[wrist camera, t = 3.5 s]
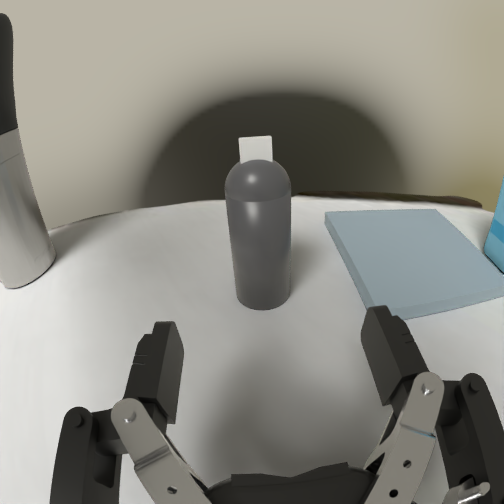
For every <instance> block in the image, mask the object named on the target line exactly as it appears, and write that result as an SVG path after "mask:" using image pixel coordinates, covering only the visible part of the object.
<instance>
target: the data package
mask: <svg viewBox="0 0 504 504" xmlns="http://www.w3.org/2000/svg"><path fill="white" fill-rule="evenodd" d="M484 252H485V254H486V255H487V256H488V257H489V258H490V259H491V260H492V261H493V262H494V263H495V264H496V265H497V266H498V267H499V268H500V270H501V271H502V272H503V273H504V177H503V182H502V186H501V191H500V195H499V199H498V203H497V206H496V210H495V214H494V217H493V221H492V224H491V227H490V230H489V233H488V236H487V239H486V242H485V246H484Z"/></svg>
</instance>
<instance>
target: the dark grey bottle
mask: <svg viewBox="0 0 504 504" xmlns="http://www.w3.org/2000/svg"><path fill="white" fill-rule="evenodd" d="M239 148H240V160H241V161H240V162H238V163H237V164H236V165H235V166H234V167H233V168H232V169H231V171H230V172H229V174H228V176H227V179H226V182H225V197H226V207H227V216H228V225H229V234H230V242H231V251H232V259H233V268H234V276H235V284H236V292H237V298H238V300H239V301H240V302H241V303H242V304H243V305H244V306H246V307H248V308H251V309H255V310H270V309H273V308H276V307H279V306H280V305H282V304H283V303H284V302H285V301H286V300H287V299H288V297H289V293H290V255H291V184H290V180H289V177H288V175H287V173H286V171H285V170H284V168H283V167H282V166H281V165H280V164H278V163H277V162H276V161H274V160H272V139H271V136H261V137H245V138H239Z"/></svg>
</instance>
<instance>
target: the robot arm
mask: <svg viewBox="0 0 504 504" xmlns="http://www.w3.org/2000/svg"><path fill="white" fill-rule="evenodd" d="M55 256H56V252H55V249H54V247H53V244H52V242H51V239H50V237H49V234H48V232H47V229H46V226H45V223H44V221H43V218H42V215H41V212H40V209H39V206H38V203H37V200H36V197H35V194H34V191H33V187H32V184H31V180H30V177H29V173H28V169H27V165H26V162H25V157H24V154H23V149H22V144H21V140H20V135H19V129H18V124H17V118H16V109H15V97H14V87H13V31H12V25H11V22H10V20H9V18H8V17H7V15H5V14H3V13H0V281H2V283H3V285H4V286H5V287H6V288H18V287H21V286H24V285H26V284H28V283H30V282H31V281H33V280H35V279H36V278H37V277H39V276H40V275H41V274H43V273H44V272H45V271H46V270H47V269H48V268H49V267H50V265H51V264H52V263H53V261H54V259H55ZM361 342H362V346H363V349H364V351H365V354H366V357H367V360H368V363H369V366H370V368H371V371H372V374H373V377H374V380H375V383H376V386H377V390H378V393H379V396H380V399H381V402H382V405H383V406H386V405H389V404H391V405H392V408H393V410H392V412H391V414H390V416H389V419H388V421H387V424H386V426H385V428H384V430H383V433H382V435H381V437H380V439H379V441H378V443H377V446H376V447H375V449H374V451H373V452H372V453H371V455H370V456H369V458H368V460H367V461H366V463H365V465H364V467H363V469H361V468H358V467H348V462H344V463H340V464H334V465H329V466H323V467H319V468H316V469H314V470H311V471H309V472H306V473H303V474H301V475H298V476H295V477H280V476H273V475H267V474H231V479H228V480H225V481H222V482H219V483H217V484H215V485H213V486H212V487H210V488H208V486H207V485H206V484H205V483H204V482H203V480H202V479H201V478H200V477H199V476H198V474H197V473H196V472H195V471H194V470H193V469H192V468H191V467H190V465H189V464H188V463H187V461H186V460H185V459H184V457H183V456H182V455H181V453H180V452H179V451H178V449H177V448H176V446H175V445H174V444H173V442H172V441H171V439H170V438H169V436H168V435H167V434H166V428H167V424H175V421H176V412H177V404H178V396H179V388H180V380H181V373H182V366H183V359H184V349H183V344H182V341H181V338H180V335H179V333H178V330H177V327H176V324H175V322H174V321H165V322H156V323H155V325H154V328H153V332H152V334H145V335H144V336H143V338H142V339H141V340H140V341H139V343H138V345H137V348H136V352H135V356H134V359H133V365H132V367H131V371H130V374H129V378H128V382H127V386H126V390H125V394H124V397H123V399H122V400H120V401H119V402H117V403H116V404H115V405H114V407H113V408H112V409H109V410H104V411H98V412H92V413H90V412H89V411H88V410H87V409H86V408H83V407H74V408H72V409H70V410H69V411H68V412H67V413H66V415H65V417H64V420H63V424H62V429H61V433H60V438H59V443H58V448H57V454H56V459H55V465H54V471H53V478H52V486H51V494H50V504H119V487H120V473H121V462H122V454H128V453H129V455H130V457H131V458H132V460H133V462H134V464H135V466H134V470H135V472H136V474H137V476H138V478H139V479H140V481H141V483H142V484H143V486H144V487H145V489H146V490H147V492H148V493H149V495H150V496H151V498H152V499H153V501H154V502H155V504H417V503H415V502H414V501H412V500H413V498H414V496H415V494H416V491H417V489H418V487H419V485H420V482H421V480H422V477H423V475H424V472H425V470H426V467H427V465H428V462H429V459H430V457H431V454H432V451H433V448H434V445H435V441H436V437H435V436H434V435H433V431H434V427H435V430H436V433H437V437H438V441H439V445H440V449H441V453H442V457H443V461H444V466H445V470H446V475H447V480H448V485H449V491H448V492H447V494H446V495H445V498H444V500H443V502H442V504H504V430H503V427H502V424H501V421H500V418H499V416H498V413H497V410H496V407H495V405H494V402H493V400H492V397H491V395H490V392H489V390H488V387H487V385H486V383H485V381H484V379H483V378H482V377H481V376H480V375H478V374H475V373H469V374H467V375H465V376H464V377H463V378H462V380H461V381H445V380H442V379H441V378H440V377H439V376H438V375H436V374H435V373H432V372H430V371H429V370H428V368H427V366H426V364H425V361H424V359H423V357H422V355H421V353H420V351H419V349H418V347H417V345H416V343H415V342H414V339H413V337H412V335H411V334H410V331H409V329H408V327H407V325H406V323H405V322H404V321H403V320H402V319H401V318H400V317H399V316H398V315H395V316H392V314H391V312H390V310H389V308H388V307H387V306H386V305H380V306H373V307H369V308H368V309H367V313H366V316H365V319H364V323H363V326H362V329H361Z"/></svg>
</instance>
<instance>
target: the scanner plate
mask: <svg viewBox="0 0 504 504" xmlns="http://www.w3.org/2000/svg"><path fill="white" fill-rule="evenodd" d="M325 225H326V227H327V229H328V231H329V233H330V235H331V237H332V239H333V241H334V242H335V244H336V246H337V248H338V250H339V252H340V254H341V256H342V258H343V260H344V262H345V264H346V267H347V269H348V271H349V273H350V275H351V277H352V279H353V281H354V283H355V285H356V287H357V290H358V292H359V294H360V296H361V298H362V300H363V303H364V305H365V307H366V309H368V308H369V307H373V306H380V305H386V306H387V307H388V308H389V310H390V312H391V314H392V316H395V315H398V316H399V317H400V318H401V319H402V320H405V319H410V318H416V317H421V316H425V315H430V314H435V313H439V312H444V311H448V310H452V309H457V308H461V307H465V306H469V305H473V304H477V303H480V302H484V301H488V300H491V299H495V298H498V297H502V296H504V277H503V276H502V275H501V273H500V272H499V271H498V270H497V269H496V268H495V267H494V266H493V264H492V263H491V262H490V261H489V260H488V259H487V258H486V257H485V256H484V255H483V254H482V253H481V252H480V251H479V250H478V249H477V248H476V247H475V246H474V245H473V244H472V243H471V242H470V241H469V240H468V239H467V238H466V237H465V236H464V235H463V234H462V233H461V232H460V231H459V230H458V229H457V228H456V227H455V226H454V225H453V224H452V223H450V222H449V221H448V220H447V219H446V218H445V217H444V216H443V215H442V214H440V213H439V212H438V211H437V210H436V209H405V210H364V211H337V212H325Z"/></svg>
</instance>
